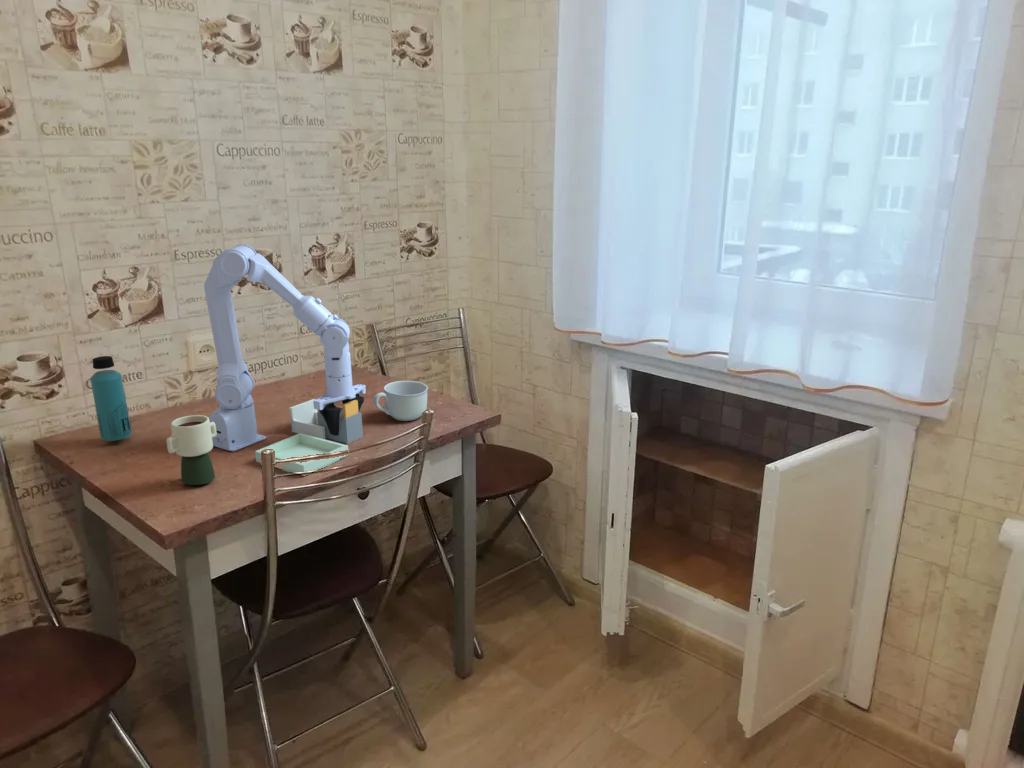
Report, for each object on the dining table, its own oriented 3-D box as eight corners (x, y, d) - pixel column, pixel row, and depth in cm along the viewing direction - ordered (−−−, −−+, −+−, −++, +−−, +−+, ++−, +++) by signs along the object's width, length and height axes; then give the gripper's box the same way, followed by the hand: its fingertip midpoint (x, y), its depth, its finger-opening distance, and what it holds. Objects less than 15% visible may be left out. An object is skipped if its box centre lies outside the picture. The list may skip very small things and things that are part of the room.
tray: (304, 477, 149) (303, 465, 148) (256, 462, 156) (254, 451, 155) (348, 456, 159) (348, 445, 158) (301, 443, 166) (300, 432, 166)
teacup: (420, 407, 190) (419, 377, 187) (435, 420, 180) (433, 389, 178) (367, 415, 184) (365, 385, 182) (379, 429, 175) (377, 397, 172)
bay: (323, 440, 168) (320, 415, 166) (291, 431, 173) (289, 407, 172) (346, 430, 174) (344, 406, 172) (315, 422, 179) (313, 398, 178)
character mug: (209, 468, 153) (201, 409, 149) (233, 475, 150) (225, 415, 146) (163, 488, 144) (153, 426, 140) (186, 496, 141) (177, 432, 137)
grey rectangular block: (347, 443, 166) (344, 406, 163) (319, 436, 170) (315, 399, 168) (363, 436, 170) (360, 400, 167) (334, 429, 175) (331, 393, 172)
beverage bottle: (128, 446, 165) (113, 360, 159) (96, 448, 164) (80, 361, 158) (137, 435, 171) (123, 352, 165) (107, 437, 170) (91, 354, 164)
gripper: (327, 385, 157) (332, 444, 161) (374, 368, 169) (377, 424, 173) (304, 380, 161) (310, 437, 165) (351, 364, 173) (355, 419, 177)
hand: (343, 430), depth 169 cm, fingers closed on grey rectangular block, 5 cm apart
